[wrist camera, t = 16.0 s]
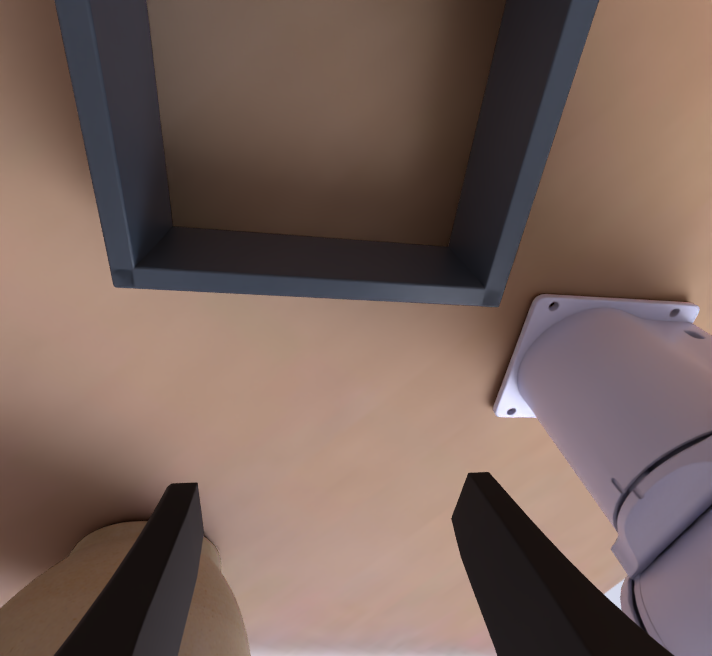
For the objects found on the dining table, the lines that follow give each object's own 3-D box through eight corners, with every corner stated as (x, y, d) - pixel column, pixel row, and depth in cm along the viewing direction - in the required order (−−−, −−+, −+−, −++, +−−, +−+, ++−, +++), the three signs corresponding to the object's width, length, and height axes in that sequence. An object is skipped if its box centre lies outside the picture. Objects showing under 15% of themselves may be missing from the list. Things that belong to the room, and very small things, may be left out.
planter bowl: (74, 629, 32) (-21, 854, 22) (-31, 497, 23) (-252, 769, 14) (281, 603, 33) (272, 804, 24) (252, 469, 25) (220, 700, 15)
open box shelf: (544, -66, 13) (641, -127, 10) (460, 263, 19) (499, 307, 15) (98, -157, 11) (-7, -283, 7) (155, 243, 17) (112, 288, 13)
